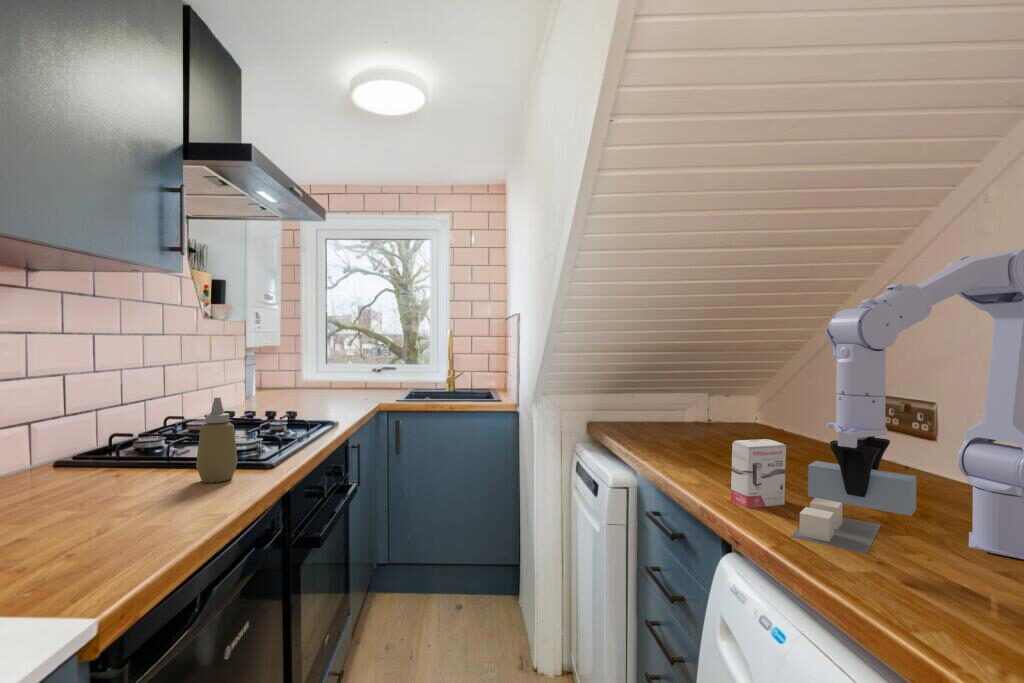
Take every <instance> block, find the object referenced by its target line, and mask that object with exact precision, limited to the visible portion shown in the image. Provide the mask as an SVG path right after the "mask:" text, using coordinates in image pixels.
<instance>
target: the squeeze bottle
mask: <svg viewBox="0 0 1024 683" xmlns="http://www.w3.org/2000/svg"><path fill="white" fill-rule="evenodd" d="M204 420H205V421H204V422H205V423H204V424H203V425H201V426H200V428H199V437H198V446H197V447H198V448H197V454H196V464H195V467H196V470H197V473H198V474H199V477H200V480H201V482H203V483H207V484H209V483H211V484H213V483H215V482H216V483H223V482H227V481H230V480H231V479H233V476H234V474H235V472H236V469H237V465H238V463H239V462H238V461H239V460H238V451H237V444H236V443H237V442H236V433H235V425H234V424H233V423H231V422H230V413H229V412H228V413H227V412H226V413H225V411H224V407H223V402H222V398H221V397H214V398H213V402H212V407H211V411H210V413H209V414H205V417H204ZM222 481H223V482H222Z"/></svg>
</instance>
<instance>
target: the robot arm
mask: <svg viewBox="0 0 1024 683" xmlns="http://www.w3.org/2000/svg"><path fill="white" fill-rule="evenodd" d="M956 295H958V296H959V297H961V298H963V299H964V300H965V301H966V302H968V303H970V304H971V305H973V307H974V306H975V307H976V308H977V309H978V310H980V311H984V312H987V313H988V314H989V315H990V316H991V317H992V318H993V320H994V321H993V328H992V329H993V331H992V337H991V338H992V339H991V348H990V359H989V369H988V376H987V377H988V378H987V387H986V393H985V394H986V395H985V396H986V397H985V405H984V412H983V413H984V415H983V420H982V421H980V422H979V423H977V424H975V425H973V426H972V427H970V428H968V429H966V430H965V436H964V439H963V440H964V441H963V444H961V447H960V448H959V451H958V453H957V465H958V468H959V470H960V472H961V473H962V475H964V476H965V477H966V478H967V484H970V485H972V531H968V547H969V548H970V549H974V550H979V551H980V550H981V551H984V552H987V553H990V554H993V555H1000V556H1004V557H1011V558H1015V559H1020V560H1024V247H1023V248H1021V249H1020V248H1019V249H1016V250H1015V249H1014V250H1008V251H1001V252H994V253H988V254H981V255H974V256H962V257H959V258H958V259H956V260H953V261H950V262H948V263H947V265H946V267H944V268H942V269H941V270H939V271H938V272H936V273H935V274H932V275H930V277H928V278H925V280H923V281H921V282H920V283H918V284H916V285H915V284H911V283H901V282H899V283H898V282H897V283H891V284H890V285H888V286H886V291H885V292H883V293H881V294H879V295H878V296H876V297H874V298H872V297H871V298H865V299H864V300H861V304H860V305H859V306H857V308H848V309H847V308H846V309H842V310H839V311H837V313H836V314H834V316H833V317H832V318H831V319H830V321H829V324H828V327H826V328H825V334H826V338H827V340H828V342H829V344H830V345H831V347H832V357H834V360H836V366H835V367H836V370H835V372H836V374H835V376H836V377H835V378H836V380H835V381H836V382H835V383H836V384H835V385H836V386H835V387H836V388H835V390H836V391H835V392H836V396H835V400H836V404H835V405H836V406H835V407H836V408H835V416H836V418H835V419H836V420H835V422H833V421H829V422H827V423H826V429H831V430H835V432H836V433H837V440H834V439H833V440H831V441H830V442H829V447H830V450H831V452H832V453H833V455H834V457H835V459H836V460H837V464H839V466H840V469H841V473H842V477H843V482H844V486H845V490H846V493H847V494H848V495H853V496H859V497H865V496H866V493H867V490H868V485H869V479H870V473H871V469H874V470H879V468H880V463H881V461H882V459H883V457H884V456H883V455H884V453H885V452H886V451H887V449H888V447H889V445H890V444H891V440H890V439H889V438H888V439H887V438H882V437H880V436H885V435H888V428H887V427H886V401H887V400H886V391H887V390H886V385H887V384H886V379H887V378H886V373H887V372H886V369H887V366H886V363H887V362H886V359H887V358H886V357H887V355H886V354H887V353H886V352H887V351H886V349H887V348H891V347H892V346H893V345H894V344H895V342H896V340H897V338H898V335H899V333H901V332H904V331H905V330H906V329H907V330H908V329H909V328H910V327H913V326H914V325H916V324H919V323H920V322H922V321H923V320H925V319H927V318H928V317H929V316H930V315H931V312H932V308H933V306H934V305H935V304H936V305H937V304H939V303H940V302H942V301H945V300H947V299H949V298H951V297H953V296H956ZM878 436H879V438H878ZM996 441H998V443H996ZM999 441H1000V442H1006V443H1011V444H1015V445H1018V446H1015V445H1011V444H1010V445H1008V444H1004V443H999Z"/></svg>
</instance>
